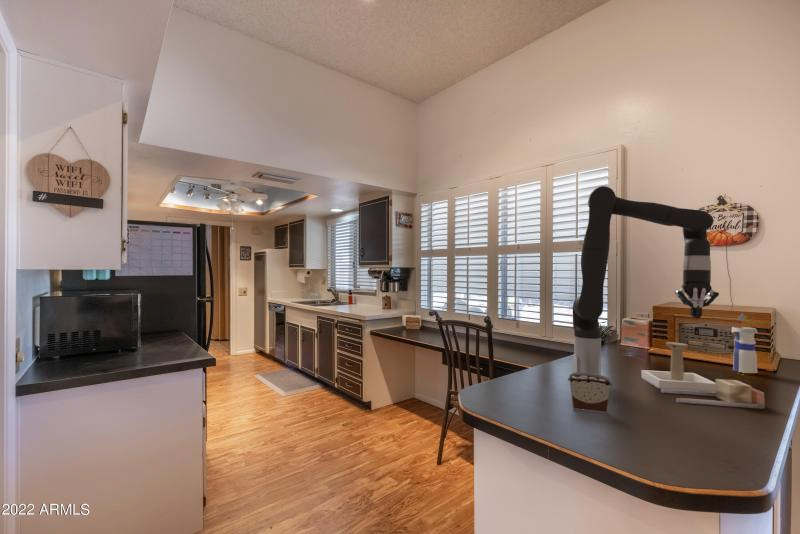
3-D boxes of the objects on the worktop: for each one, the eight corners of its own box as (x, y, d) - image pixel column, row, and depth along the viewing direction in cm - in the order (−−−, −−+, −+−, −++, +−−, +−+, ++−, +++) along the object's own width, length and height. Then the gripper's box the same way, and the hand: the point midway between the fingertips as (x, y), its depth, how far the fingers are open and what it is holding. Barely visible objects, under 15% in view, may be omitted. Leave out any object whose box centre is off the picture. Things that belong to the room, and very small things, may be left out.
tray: (659, 389, 130) (659, 380, 130) (641, 378, 144) (641, 370, 145) (718, 393, 126) (717, 383, 127) (694, 381, 140) (694, 373, 141)
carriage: (729, 403, 115) (729, 385, 115) (715, 396, 122) (715, 378, 122) (751, 405, 114) (751, 386, 114) (736, 398, 121) (736, 380, 121)
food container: (608, 406, 113) (608, 374, 113) (613, 413, 107) (612, 379, 107) (565, 401, 117) (565, 370, 117) (567, 408, 111) (567, 375, 111)
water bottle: (725, 369, 158) (725, 313, 159) (747, 370, 157) (746, 313, 158) (740, 374, 150) (740, 315, 151) (763, 375, 149) (763, 315, 150)
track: (677, 402, 117) (677, 387, 117) (661, 391, 127) (661, 377, 127) (764, 408, 112) (764, 392, 112) (739, 397, 122) (739, 382, 122)
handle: (670, 380, 139) (669, 341, 140) (690, 384, 134) (689, 344, 134) (664, 382, 137) (664, 342, 137) (684, 386, 131) (684, 345, 132)
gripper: (712, 269, 128) (711, 318, 128) (669, 268, 132) (669, 315, 131) (725, 269, 121) (725, 320, 121) (680, 268, 124) (679, 318, 124)
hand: (695, 318), depth 126 cm, fingers closed
